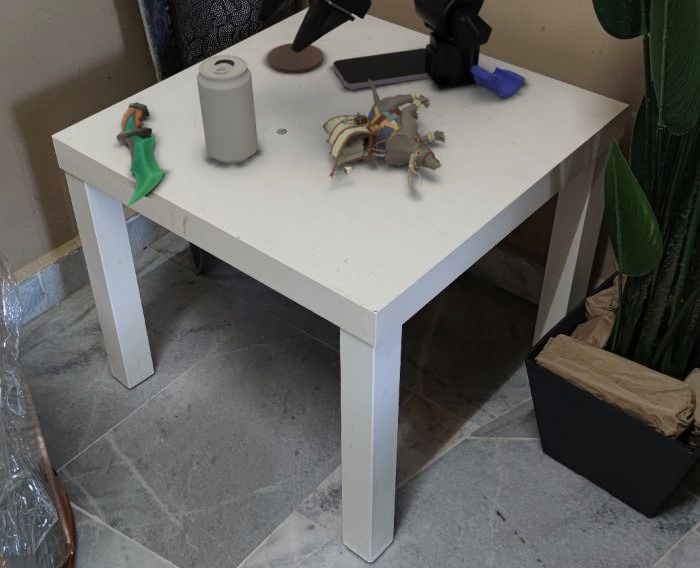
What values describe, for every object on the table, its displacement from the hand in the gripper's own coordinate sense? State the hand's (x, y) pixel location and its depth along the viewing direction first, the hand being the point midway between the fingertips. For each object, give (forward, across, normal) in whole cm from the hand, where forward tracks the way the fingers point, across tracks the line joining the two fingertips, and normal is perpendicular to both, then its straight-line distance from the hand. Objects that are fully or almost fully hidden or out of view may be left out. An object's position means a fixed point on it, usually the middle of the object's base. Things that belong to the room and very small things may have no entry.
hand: (276, 35), depth 110 cm
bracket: (-10, +6, +30) cm, 32 cm away
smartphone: (-1, -6, +24) cm, 24 cm away
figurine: (+6, +12, +14) cm, 19 cm away
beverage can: (+15, +2, +2) cm, 15 cm away
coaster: (+4, -16, +16) cm, 22 cm away
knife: (+19, -2, -5) cm, 20 cm away
